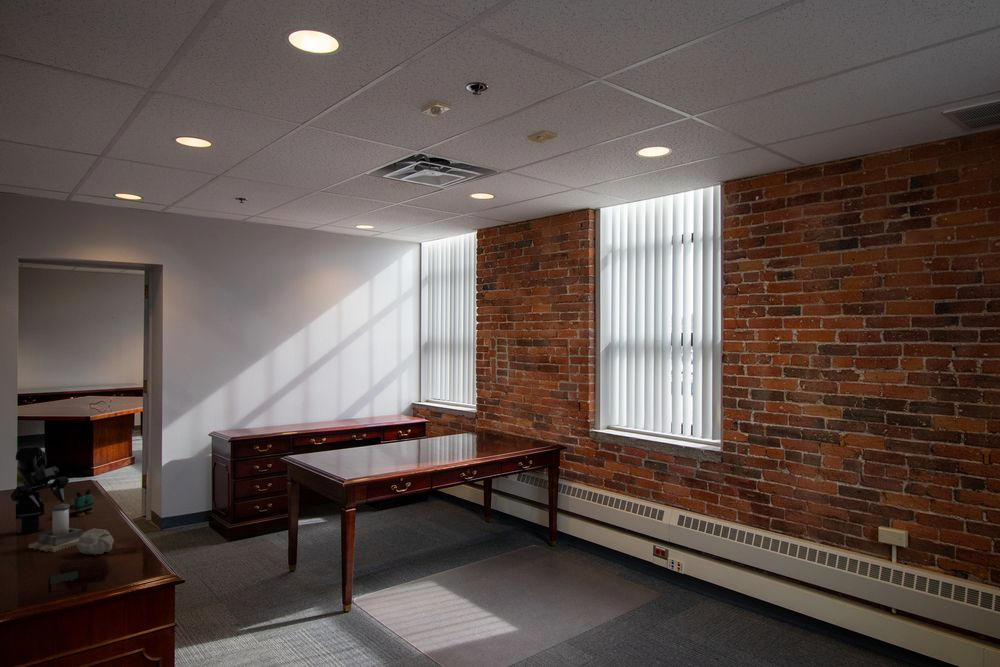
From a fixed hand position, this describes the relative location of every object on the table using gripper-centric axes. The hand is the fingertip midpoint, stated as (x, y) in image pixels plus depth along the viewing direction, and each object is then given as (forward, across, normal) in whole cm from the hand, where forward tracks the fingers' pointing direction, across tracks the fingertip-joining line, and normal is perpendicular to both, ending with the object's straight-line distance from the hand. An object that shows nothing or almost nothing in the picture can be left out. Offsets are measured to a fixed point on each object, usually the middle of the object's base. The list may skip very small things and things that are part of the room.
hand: (51, 504), depth 231 cm
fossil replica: (+31, -5, -12) cm, 34 cm away
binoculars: (-8, +29, +27) cm, 40 cm away
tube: (+14, -2, +3) cm, 15 cm away
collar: (+16, -2, +4) cm, 16 cm away
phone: (+43, -28, -23) cm, 56 cm away
